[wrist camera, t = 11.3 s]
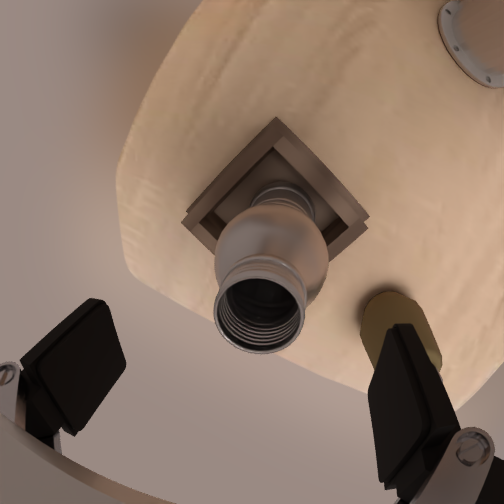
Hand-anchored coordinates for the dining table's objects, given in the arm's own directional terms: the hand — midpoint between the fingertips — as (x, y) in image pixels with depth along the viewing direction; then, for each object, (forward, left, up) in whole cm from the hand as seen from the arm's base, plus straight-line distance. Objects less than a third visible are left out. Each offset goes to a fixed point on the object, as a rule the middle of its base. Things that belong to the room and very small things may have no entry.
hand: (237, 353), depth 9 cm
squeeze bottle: (+12, +14, -24) cm, 30 cm away
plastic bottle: (0, 0, -23) cm, 23 cm away
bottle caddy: (0, 0, -23) cm, 23 cm away
